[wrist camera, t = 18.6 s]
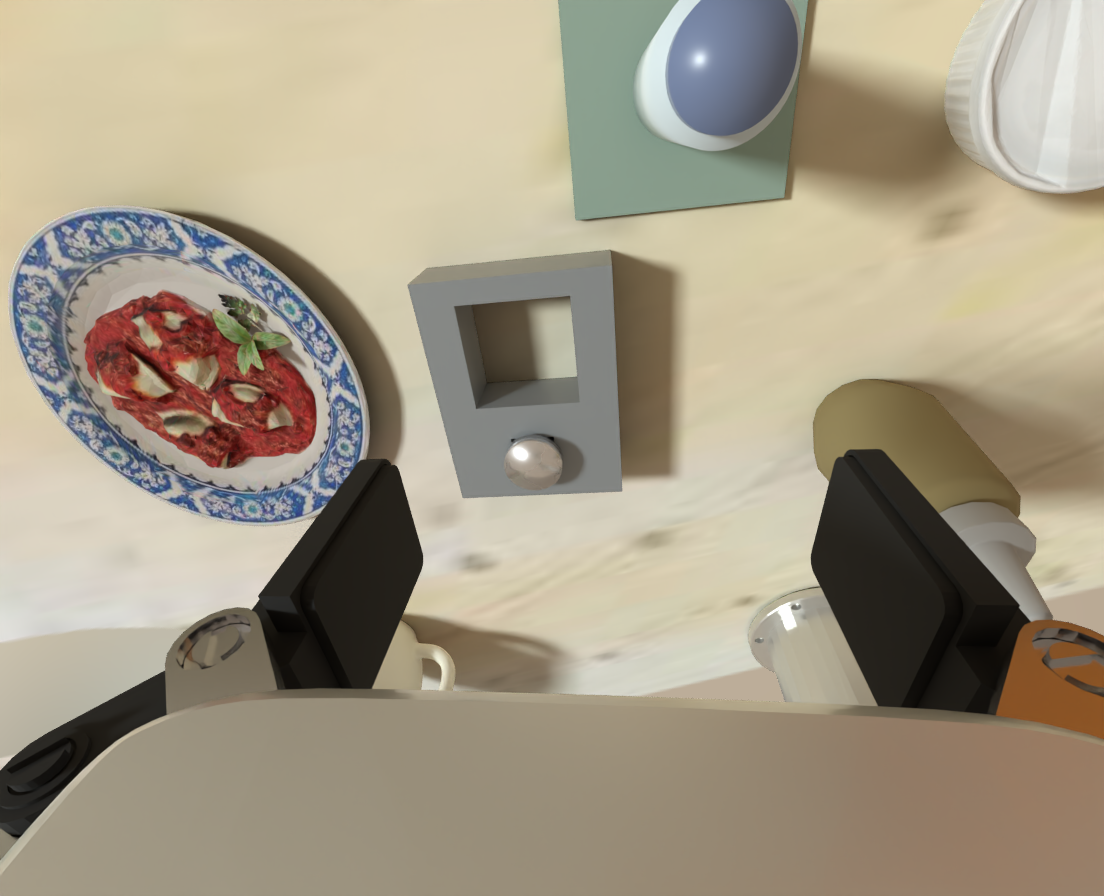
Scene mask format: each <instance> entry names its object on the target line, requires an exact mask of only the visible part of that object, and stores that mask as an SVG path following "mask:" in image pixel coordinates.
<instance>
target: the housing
mask: <svg viewBox="0 0 1104 896" xmlns="http://www.w3.org/2000/svg"><path fill="white" fill-rule="evenodd" d="M408 289H409V292H410V296H411V300H412V304H413V308H414V312H415V316H416V319H417V323H418V327H419V331H420V335H421V339H422V343H423V346H424V350H425V354H426V358H427V362H428V366H429V370H430V373H431V377H432V381H433V385H434V389H435V393H436V397H437V400H438V404H439V408H440V412H441V416H442V420H443V423H444V427H445V431H446V435H447V439H448V443H449V447H450V450H451V454H452V458H453V462H454V466H455V470H456V474H457V477H458V481H459V485H460V489H461V493H462V497H463V498H478V497H501V496H525V495H549V494H573V493H597V492H621V491H622V473H621V451H620V429H619V407H618V385H617V363H616V341H615V320H614V298H613V276H612V260H611V251H610V250H605V251H595V252H585V253H575V254H565V255H555V256H545V257H535V258H525V259H515V260H505V261H495V262H485V263H475V264H465V265H455V266H445V267H435V268H426V269H425V270H424V271H423V272H422V273H421V274H420V275H418V276H417V277H416V278H415V279H414V280H413V281H411V282H410V283H409V284H408ZM563 296H570V300H571V311H572V322H573V333H574V344H575V355H576V366H577V377H569V378H555V379H541V380H527V381H512V382H498V383H487V381H486V376H485V371H484V366H483V361H482V356H481V351H480V345H479V340H478V335H477V330H476V325H475V320H474V315H473V310H472V305H474V304H485V303H496V302H507V301H518V300H529V299H540V298H551V297H563ZM525 435H541V436H544V437H554V442H555V443H556V445H557V446H558V447H559V448H560V450H561V452H562V456H563V465H562V473H561V476H560V478H559V479H558V481H557V482H556V483H555V484H553V485H552V486H550V487H548V488H546V489H542V490H528V489H524V488H521V487H519V486H517V485H516V484H514V483H513V482H512V481H511V480H510V479H509V478H508V476H507V475H506V472H505V469H504V460H505V456H506V452H507V449H508V447H509V446H510V444H511V443H512V442H513V441H514V440H516V439H517V438H519V437H521V436H525Z"/></svg>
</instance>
